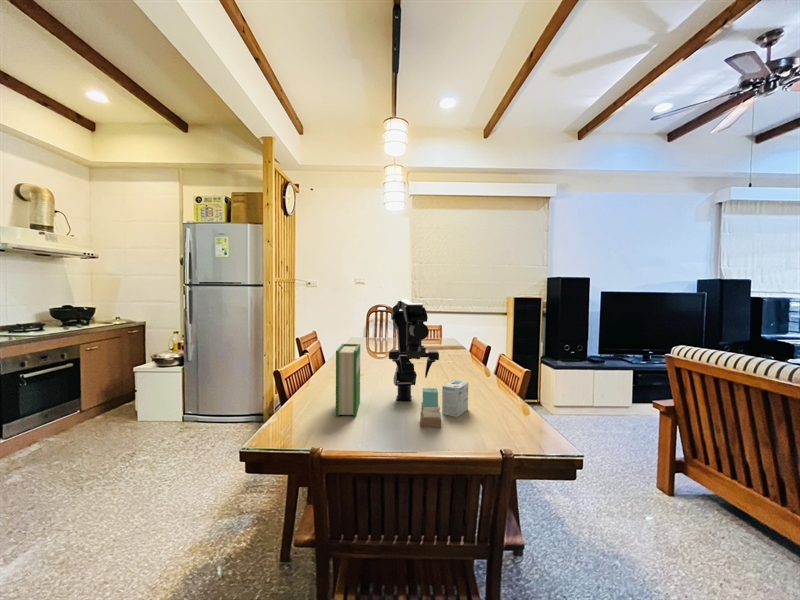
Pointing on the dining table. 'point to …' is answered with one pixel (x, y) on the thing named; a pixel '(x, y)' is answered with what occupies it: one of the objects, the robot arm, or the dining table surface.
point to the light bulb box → (455, 398)
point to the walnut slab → (430, 422)
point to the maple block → (430, 411)
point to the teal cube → (430, 397)
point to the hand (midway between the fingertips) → (413, 377)
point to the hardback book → (347, 379)
